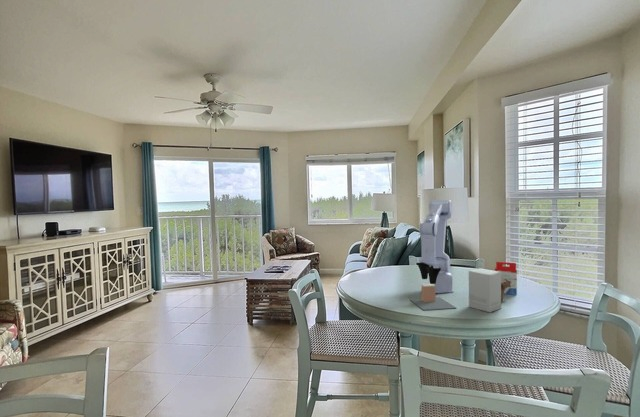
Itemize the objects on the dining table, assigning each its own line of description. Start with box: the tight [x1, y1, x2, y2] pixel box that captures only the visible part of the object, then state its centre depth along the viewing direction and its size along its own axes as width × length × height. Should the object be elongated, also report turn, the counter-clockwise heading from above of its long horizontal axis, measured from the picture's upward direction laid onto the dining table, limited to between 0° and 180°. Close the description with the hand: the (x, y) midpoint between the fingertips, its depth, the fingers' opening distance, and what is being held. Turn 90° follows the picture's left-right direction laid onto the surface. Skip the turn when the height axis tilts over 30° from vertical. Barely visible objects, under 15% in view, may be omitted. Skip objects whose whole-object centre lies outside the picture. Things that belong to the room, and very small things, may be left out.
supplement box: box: [468, 267, 502, 313], centre depth 129 cm, size 9×9×15 cm
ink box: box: [494, 261, 518, 296], centre depth 148 cm, size 8×5×15 cm, turn 65°
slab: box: [421, 283, 436, 302], centre depth 137 cm, size 5×3×7 cm, turn 97°
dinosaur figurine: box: [501, 279, 511, 303], centre depth 137 cm, size 14×6×9 cm, turn 122°
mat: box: [409, 296, 457, 311], centre depth 134 cm, size 14×14×1 cm
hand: (428, 281), depth 137 cm, fingers open, 7 cm apart
